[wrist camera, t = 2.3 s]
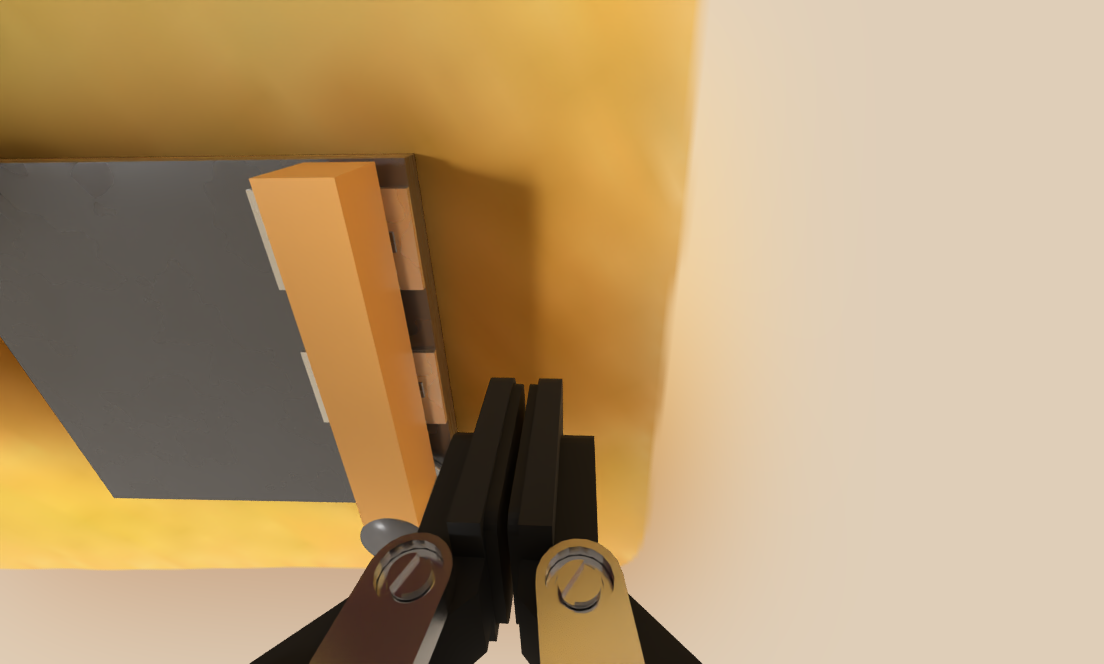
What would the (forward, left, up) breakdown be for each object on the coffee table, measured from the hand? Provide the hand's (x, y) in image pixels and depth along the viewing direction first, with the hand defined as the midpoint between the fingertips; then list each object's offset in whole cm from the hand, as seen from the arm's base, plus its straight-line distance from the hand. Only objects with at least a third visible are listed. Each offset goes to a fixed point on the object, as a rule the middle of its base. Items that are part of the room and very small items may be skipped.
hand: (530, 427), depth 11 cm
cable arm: (-7, -4, -8) cm, 11 cm away
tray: (-15, -4, -10) cm, 18 cm away
